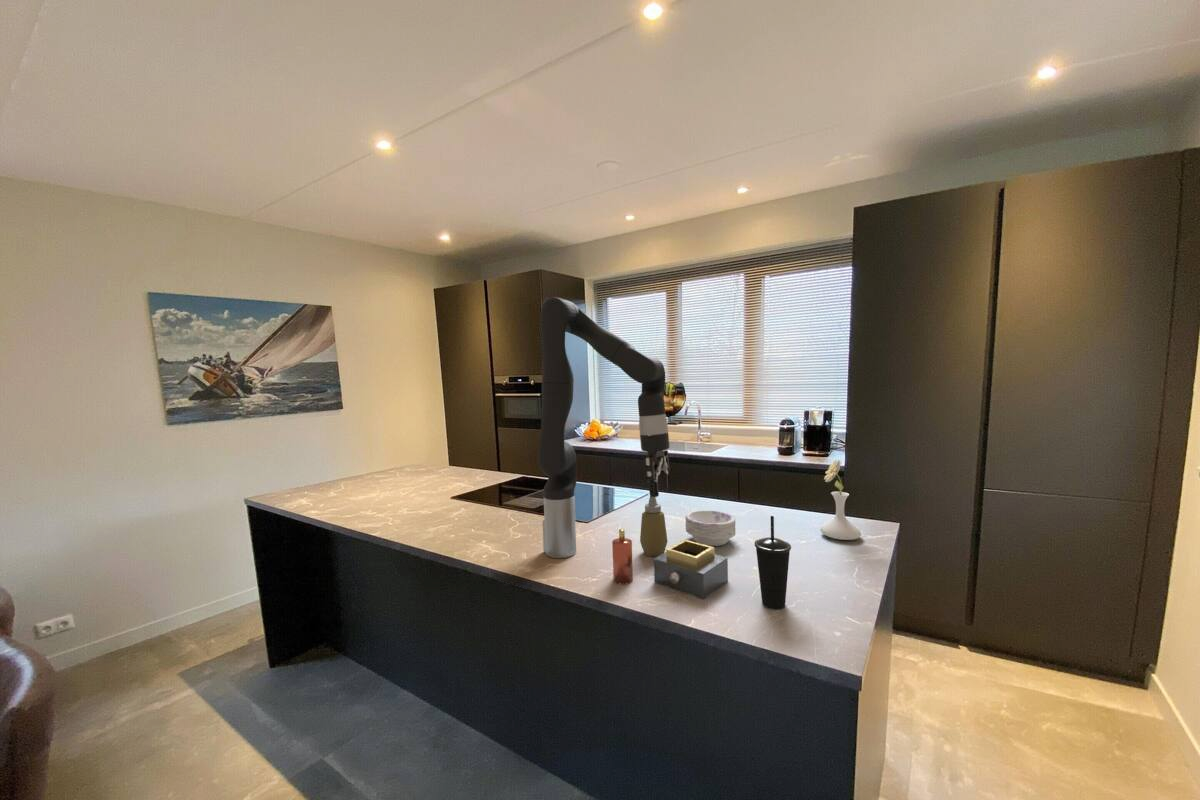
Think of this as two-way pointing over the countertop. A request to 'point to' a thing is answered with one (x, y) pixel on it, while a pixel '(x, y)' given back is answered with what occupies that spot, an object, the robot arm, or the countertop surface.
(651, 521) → the squeeze bottle
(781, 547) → the drinking cup
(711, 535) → the paper bowls
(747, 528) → the countertop surface
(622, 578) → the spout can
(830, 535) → the flower in vase
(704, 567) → the grey drawer box
